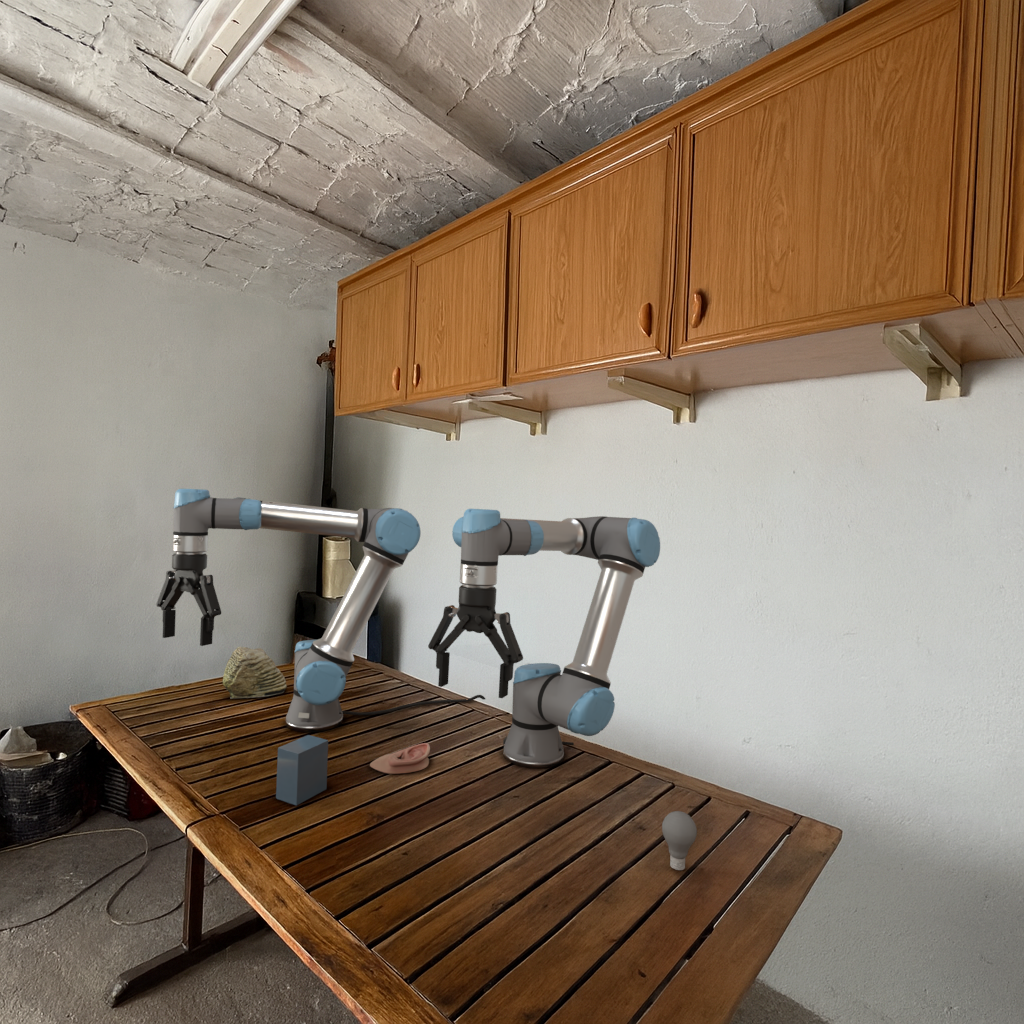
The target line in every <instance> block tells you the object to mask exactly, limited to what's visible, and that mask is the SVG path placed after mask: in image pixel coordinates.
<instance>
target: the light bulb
mask: <svg viewBox="0 0 1024 1024" xmlns="http://www.w3.org/2000/svg"><path fill="white" fill-rule="evenodd" d="M661 831H662V836H663V837H664V839H665V842H666V844H667V847H668V852H669V855H670V858H669V859H670V860H669V866H670V867H671V868H672V869H674V870H676V871H683V870H685V869H686V858H687V856H688V854H689V850H690V848H691V847H692V846H693V844H694V842H695V841H696V838H697V835H698V830H697V824H696V823H695V821H694V820H693V818H692V817H691V816H690V815H689V814H688V813H687V812H684V811H680V810H674V811H671V812H669V813H668V814H667V815H666V816H665V817H664V818H663V821H662V824H661Z"/></svg>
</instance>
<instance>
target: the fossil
mask: <svg viewBox="0 0 1024 1024" xmlns="http://www.w3.org/2000/svg"><path fill="white" fill-rule="evenodd" d="M222 676H223V677H222V685H223V687H224V688H225V690H226V691H228V693H229V698H230V699H250V698H264V697H271V696H275V695H281V694H284V693H285V691H286V689H287V687H288V686H287V680H286V678H285V676H284V674H283V673H282V672H281V669H279V668H278V667H277V665H276V663H275V662H274V660H273V659H272V658H271V657H270V656H269V655H268V654H267V653H266V652H265V650H264V649H263V648H260V647H258V648H251V647H247V646H246V647H245V646H238V647H237V648H236V649H235V650H233V651H232V653H231V656H230V657H229V659H228V660H227V663H226V666H225V668H224V671H223V675H222Z"/></svg>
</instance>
